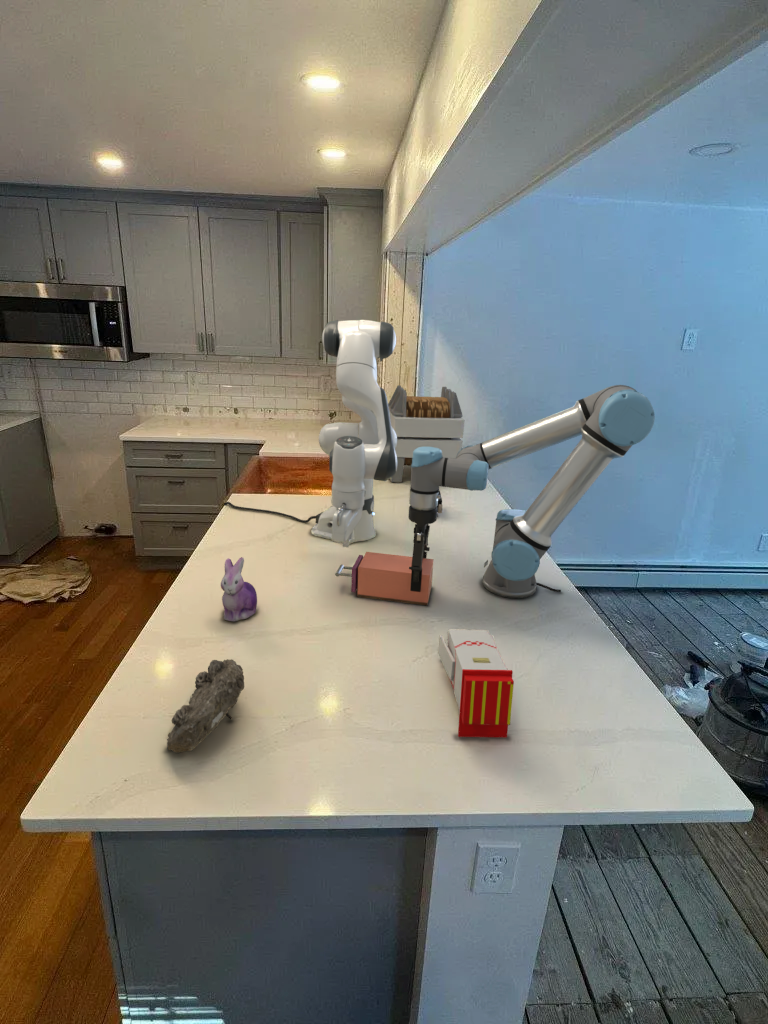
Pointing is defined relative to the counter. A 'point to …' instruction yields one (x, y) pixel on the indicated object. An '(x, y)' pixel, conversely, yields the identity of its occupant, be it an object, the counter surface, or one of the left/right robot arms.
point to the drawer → (354, 573)
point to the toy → (478, 682)
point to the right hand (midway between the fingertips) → (418, 581)
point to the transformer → (425, 425)
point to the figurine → (237, 593)
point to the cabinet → (392, 578)
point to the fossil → (206, 705)
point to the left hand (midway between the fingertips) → (346, 545)
